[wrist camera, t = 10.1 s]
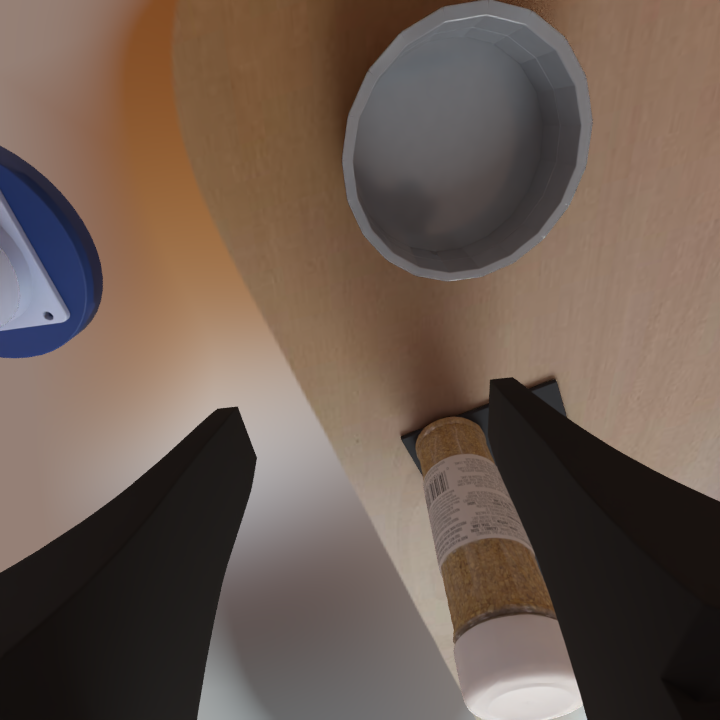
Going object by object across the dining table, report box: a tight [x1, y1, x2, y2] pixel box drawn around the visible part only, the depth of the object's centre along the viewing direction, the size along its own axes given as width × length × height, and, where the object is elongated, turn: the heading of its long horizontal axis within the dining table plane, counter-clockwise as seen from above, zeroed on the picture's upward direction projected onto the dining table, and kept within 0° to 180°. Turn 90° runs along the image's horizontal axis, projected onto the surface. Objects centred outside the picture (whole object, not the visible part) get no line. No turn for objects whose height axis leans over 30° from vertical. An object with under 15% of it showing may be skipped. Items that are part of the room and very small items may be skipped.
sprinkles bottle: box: [416, 417, 583, 720], centre depth 19 cm, size 5×5×13 cm
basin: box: [342, 0, 593, 281], centre depth 15 cm, size 9×9×4 cm
